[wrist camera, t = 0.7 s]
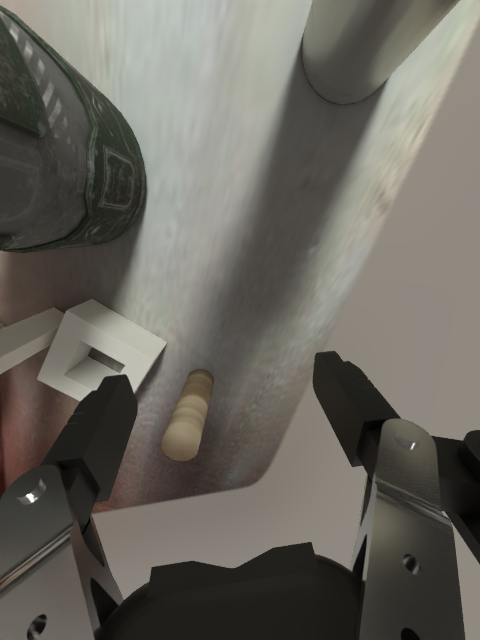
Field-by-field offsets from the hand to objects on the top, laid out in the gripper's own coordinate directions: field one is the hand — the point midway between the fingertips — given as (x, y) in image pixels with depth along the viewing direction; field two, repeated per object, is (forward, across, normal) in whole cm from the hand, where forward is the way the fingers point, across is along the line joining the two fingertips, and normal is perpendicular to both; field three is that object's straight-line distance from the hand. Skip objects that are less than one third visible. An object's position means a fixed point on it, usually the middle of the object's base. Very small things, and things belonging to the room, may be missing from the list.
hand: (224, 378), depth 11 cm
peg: (+21, +4, +18) cm, 28 cm away
